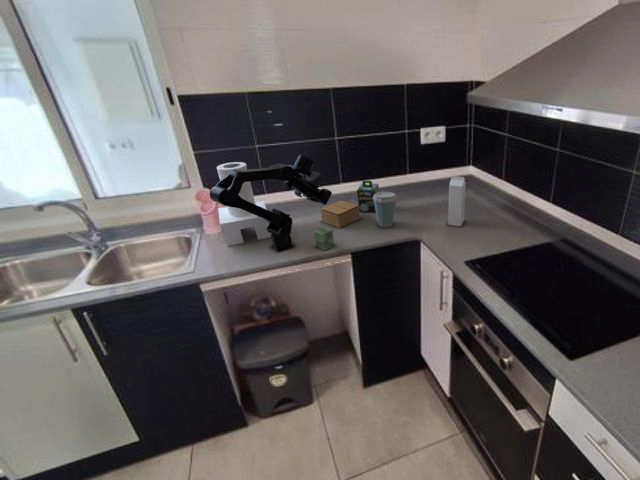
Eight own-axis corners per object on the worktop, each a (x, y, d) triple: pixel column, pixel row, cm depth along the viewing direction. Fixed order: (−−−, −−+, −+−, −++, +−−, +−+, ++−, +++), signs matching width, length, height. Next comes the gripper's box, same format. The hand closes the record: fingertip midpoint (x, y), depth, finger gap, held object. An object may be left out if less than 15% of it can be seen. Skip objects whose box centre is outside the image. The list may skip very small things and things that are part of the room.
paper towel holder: (224, 229, 171) (205, 163, 156) (267, 220, 178) (253, 157, 164) (226, 246, 156) (206, 175, 142) (273, 236, 164) (259, 168, 149)
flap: (338, 214, 168) (338, 214, 168) (320, 209, 174) (320, 208, 174) (348, 210, 172) (348, 210, 172) (331, 205, 178) (330, 204, 178)
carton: (339, 227, 171) (338, 214, 168) (322, 221, 177) (320, 208, 174) (359, 218, 180) (358, 205, 176) (342, 212, 186) (341, 200, 183)
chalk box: (380, 205, 194) (378, 177, 187) (377, 212, 186) (374, 183, 179) (362, 205, 195) (360, 177, 188) (358, 211, 187) (355, 182, 180)
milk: (460, 226, 171) (463, 179, 160) (447, 224, 172) (449, 178, 162) (464, 221, 176) (466, 175, 165) (451, 219, 177) (453, 173, 167)
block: (325, 250, 152) (322, 234, 149) (316, 246, 155) (314, 231, 152) (334, 245, 156) (332, 230, 152) (326, 242, 158) (324, 227, 155)
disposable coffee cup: (372, 221, 176) (370, 190, 169) (395, 218, 179) (394, 188, 172) (376, 230, 167) (374, 198, 160) (400, 228, 170) (399, 196, 163)
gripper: (325, 171, 151) (348, 190, 164) (295, 164, 160) (319, 182, 173) (312, 195, 149) (336, 213, 162) (283, 186, 159) (308, 203, 172)
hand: (325, 202), depth 167 cm, fingers closed
